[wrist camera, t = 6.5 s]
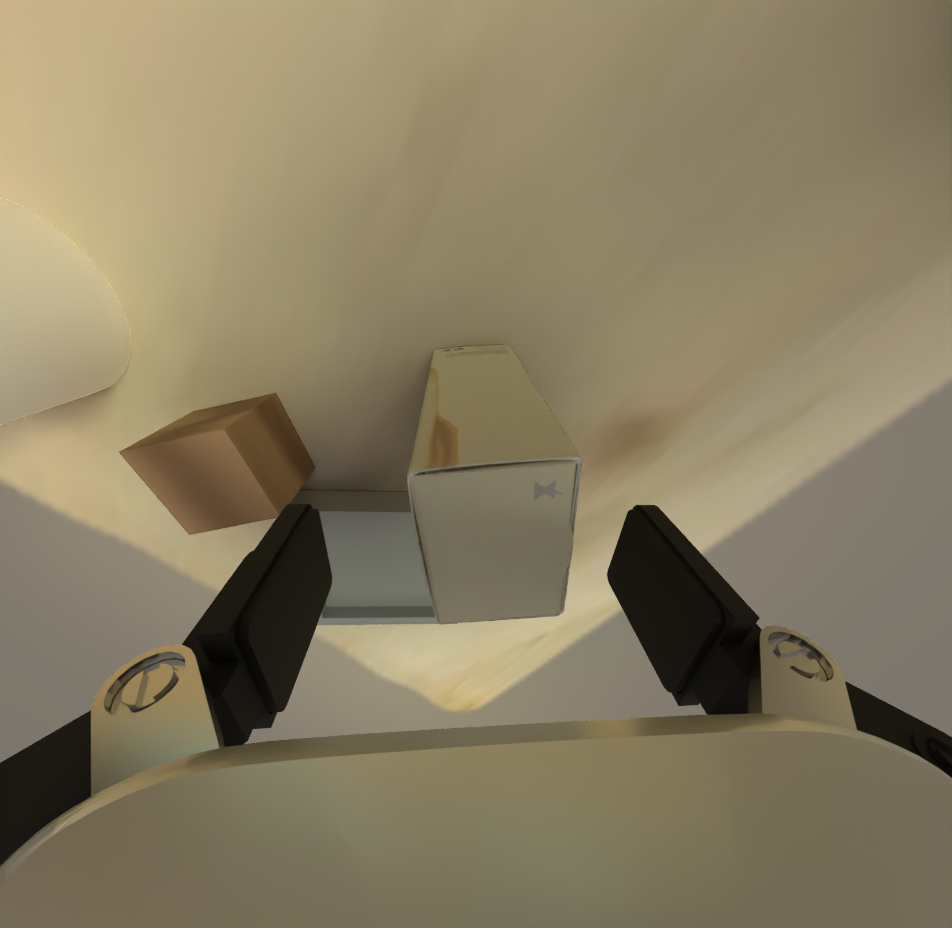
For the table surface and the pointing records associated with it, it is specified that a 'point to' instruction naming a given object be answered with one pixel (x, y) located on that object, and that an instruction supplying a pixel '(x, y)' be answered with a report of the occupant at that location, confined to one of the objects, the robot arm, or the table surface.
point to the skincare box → (491, 490)
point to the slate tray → (371, 558)
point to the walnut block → (224, 464)
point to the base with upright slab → (53, 319)
